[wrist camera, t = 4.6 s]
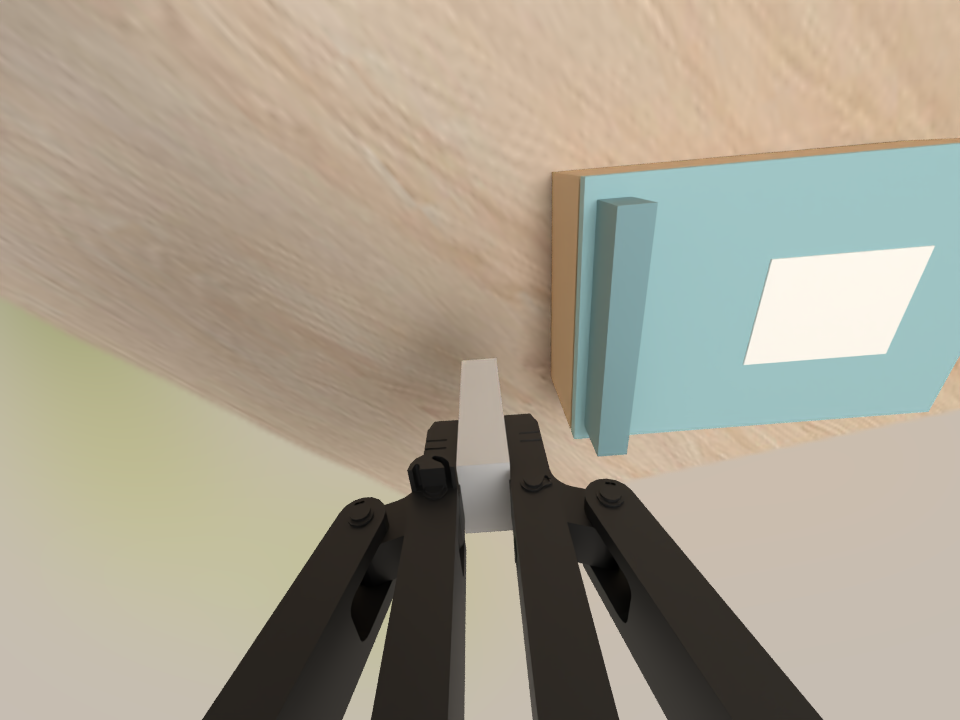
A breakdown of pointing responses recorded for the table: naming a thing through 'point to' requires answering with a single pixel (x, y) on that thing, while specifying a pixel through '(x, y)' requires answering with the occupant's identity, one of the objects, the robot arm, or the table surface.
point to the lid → (765, 292)
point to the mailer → (567, 245)
